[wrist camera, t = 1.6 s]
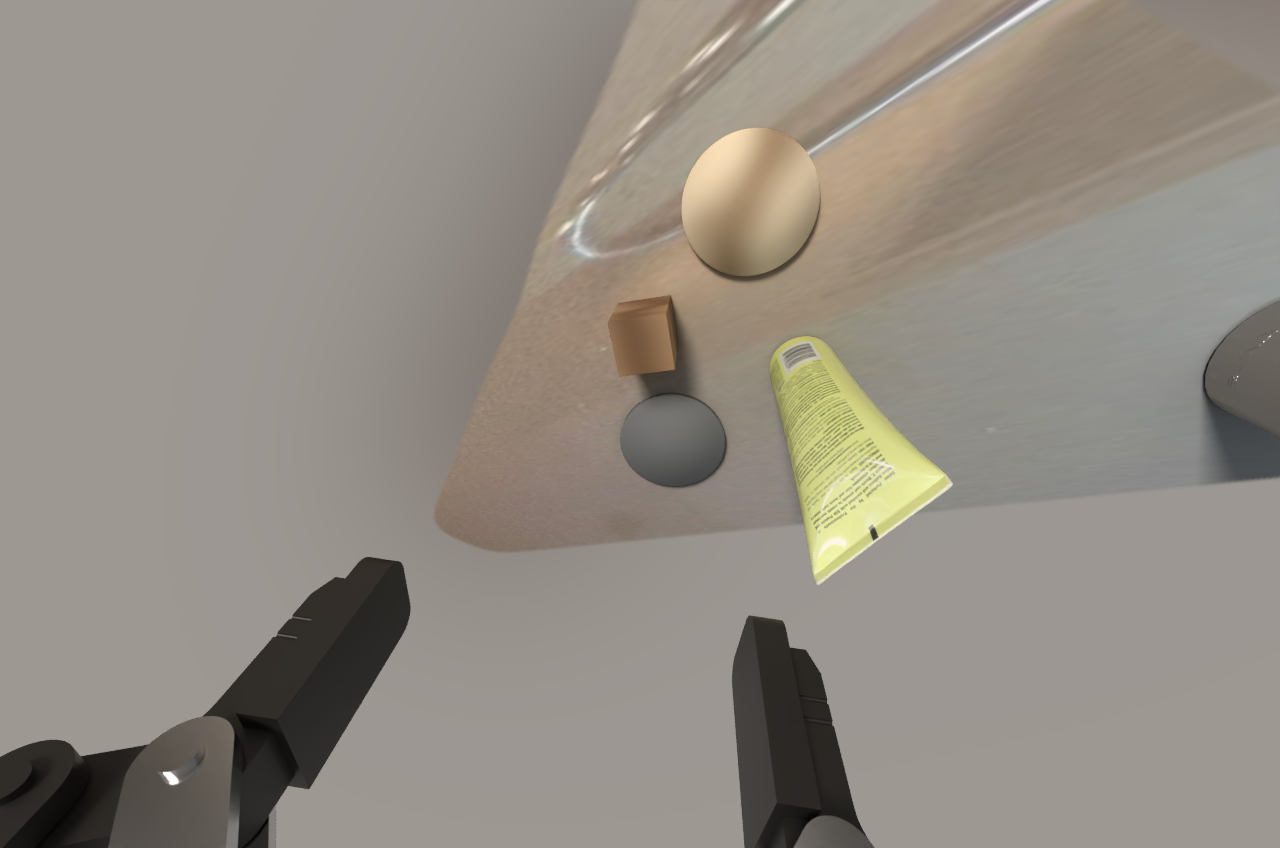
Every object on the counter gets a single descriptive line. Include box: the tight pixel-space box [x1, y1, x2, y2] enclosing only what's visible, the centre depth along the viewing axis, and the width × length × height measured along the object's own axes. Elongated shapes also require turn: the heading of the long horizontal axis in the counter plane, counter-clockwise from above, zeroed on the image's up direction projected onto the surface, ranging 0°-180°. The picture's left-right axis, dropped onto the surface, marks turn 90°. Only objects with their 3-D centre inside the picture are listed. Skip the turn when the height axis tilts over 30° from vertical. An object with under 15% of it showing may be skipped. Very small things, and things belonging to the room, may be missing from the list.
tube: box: [769, 336, 952, 585], centre depth 29 cm, size 6×5×20 cm
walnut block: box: [608, 295, 678, 377], centre depth 35 cm, size 4×4×5 cm
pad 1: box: [620, 393, 725, 487], centre depth 42 cm, size 9×9×1 cm
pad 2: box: [682, 128, 820, 276], centre depth 33 cm, size 9×9×1 cm
